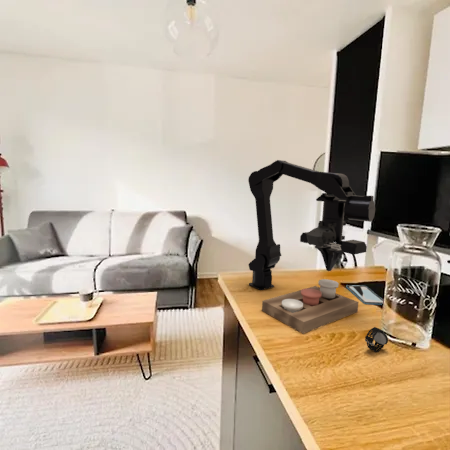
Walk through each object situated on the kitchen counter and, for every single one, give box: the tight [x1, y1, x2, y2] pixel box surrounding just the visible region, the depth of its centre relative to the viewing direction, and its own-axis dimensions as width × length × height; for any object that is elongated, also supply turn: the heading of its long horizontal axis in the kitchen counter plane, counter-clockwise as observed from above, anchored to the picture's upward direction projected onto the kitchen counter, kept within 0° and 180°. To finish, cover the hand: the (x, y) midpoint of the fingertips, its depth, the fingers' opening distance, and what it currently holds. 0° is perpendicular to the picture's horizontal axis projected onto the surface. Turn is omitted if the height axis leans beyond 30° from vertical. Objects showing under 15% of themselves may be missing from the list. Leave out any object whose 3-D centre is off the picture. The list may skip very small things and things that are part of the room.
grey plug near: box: [282, 299, 303, 313], centre depth 80 cm, size 6×6×4 cm
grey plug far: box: [317, 278, 340, 298], centre depth 88 cm, size 6×6×4 cm
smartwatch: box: [364, 326, 389, 353], centre depth 66 cm, size 4×5×5 cm
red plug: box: [300, 287, 322, 306], centre depth 84 cm, size 6×6×4 cm
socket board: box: [261, 285, 359, 335], centre depth 85 cm, size 15×23×3 cm, turn 124°
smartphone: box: [345, 284, 384, 306], centre depth 98 cm, size 7×1×15 cm
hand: (328, 270), depth 87 cm, fingers closed
